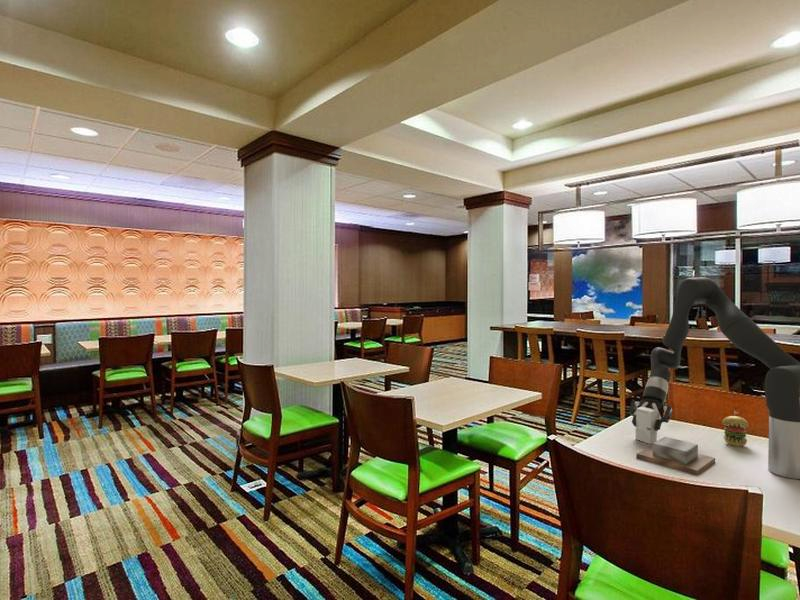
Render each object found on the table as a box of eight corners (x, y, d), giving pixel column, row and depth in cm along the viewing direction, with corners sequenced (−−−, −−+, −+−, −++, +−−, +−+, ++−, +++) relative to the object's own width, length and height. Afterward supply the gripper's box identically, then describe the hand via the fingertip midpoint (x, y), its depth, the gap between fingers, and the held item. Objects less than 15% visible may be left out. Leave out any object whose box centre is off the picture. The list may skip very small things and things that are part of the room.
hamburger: (723, 445, 160) (724, 413, 160) (720, 439, 167) (720, 408, 166) (750, 449, 157) (751, 415, 157) (745, 443, 163) (746, 410, 163)
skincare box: (634, 439, 168) (635, 407, 167) (642, 437, 170) (642, 406, 169) (650, 444, 162) (650, 411, 162) (658, 442, 164) (658, 410, 164)
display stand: (714, 462, 146) (715, 445, 145) (697, 475, 136) (697, 457, 135) (656, 447, 160) (656, 432, 159) (636, 457, 150) (636, 441, 150)
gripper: (633, 382, 176) (622, 418, 168) (674, 388, 165) (664, 426, 158) (638, 393, 180) (627, 428, 172) (678, 400, 169) (668, 437, 161)
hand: (645, 427), depth 165 cm, fingers closed on skincare box, 6 cm apart
